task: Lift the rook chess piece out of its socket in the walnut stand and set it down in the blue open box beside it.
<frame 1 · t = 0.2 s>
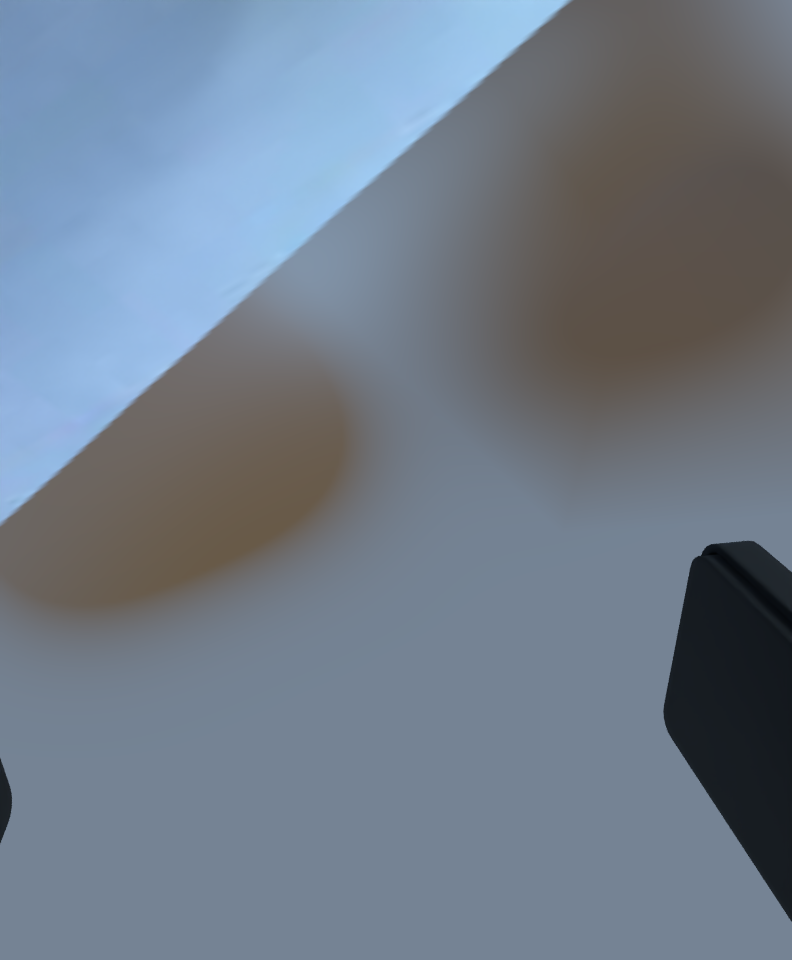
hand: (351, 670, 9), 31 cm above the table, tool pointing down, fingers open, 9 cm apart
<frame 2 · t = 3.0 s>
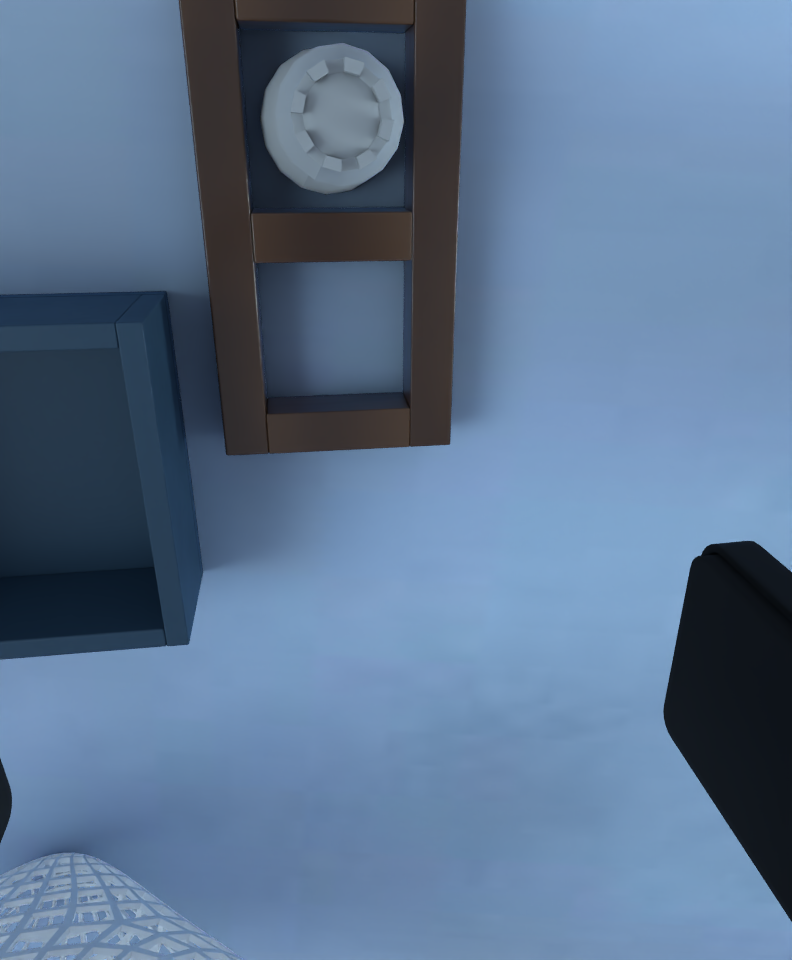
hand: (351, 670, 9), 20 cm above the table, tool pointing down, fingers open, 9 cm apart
blue open box: (28, 451, 28), on the table
stand: (330, 231, 26), on the table
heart: (64, 857, 38), on the table
rook chess piece: (326, 123, 25), resting in stand
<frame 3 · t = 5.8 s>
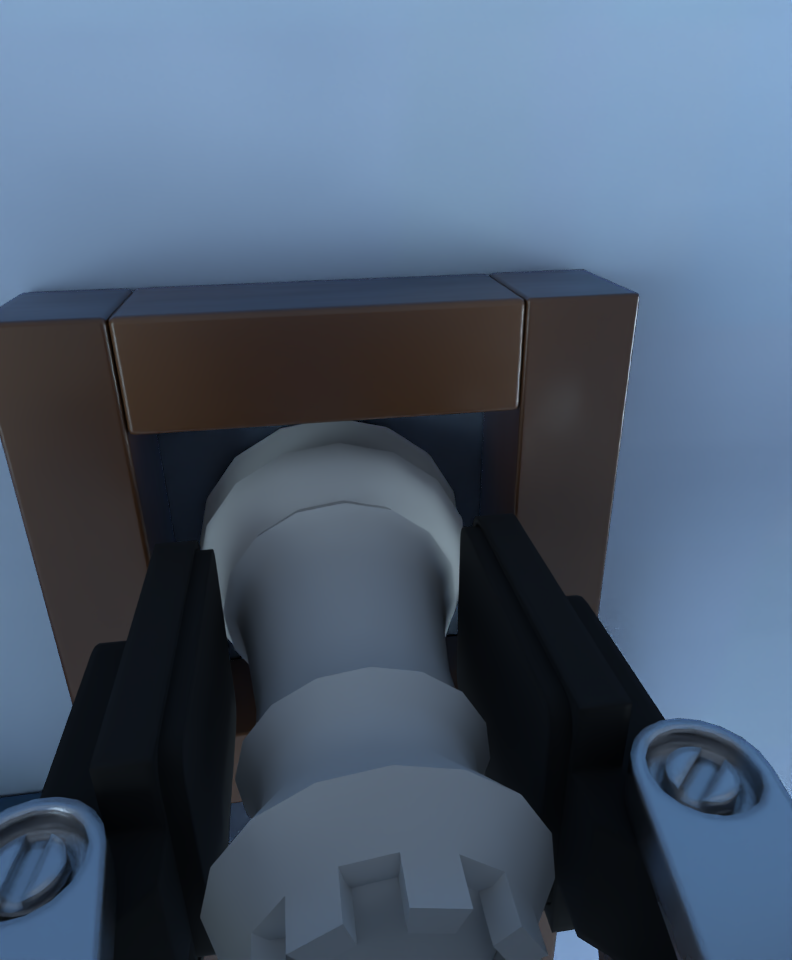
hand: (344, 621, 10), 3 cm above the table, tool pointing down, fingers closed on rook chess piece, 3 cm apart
stand: (340, 679, 14), on the table
rook chess piece: (330, 520, 13), resting in stand, touching gripper
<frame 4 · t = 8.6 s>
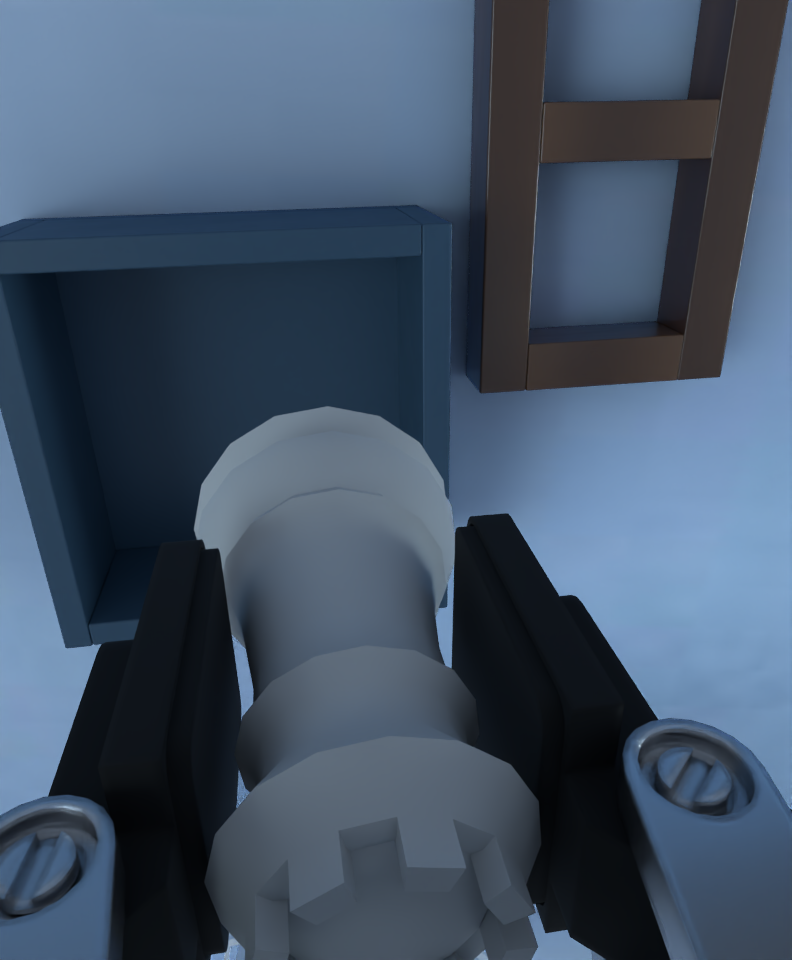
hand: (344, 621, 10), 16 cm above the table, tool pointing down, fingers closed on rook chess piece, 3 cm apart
blue open box: (247, 396, 25), on the table
stand: (603, 131, 23), on the table
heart: (239, 850, 35), on the table
rook chess piece: (322, 507, 13), point 12 cm above the table, touching gripper
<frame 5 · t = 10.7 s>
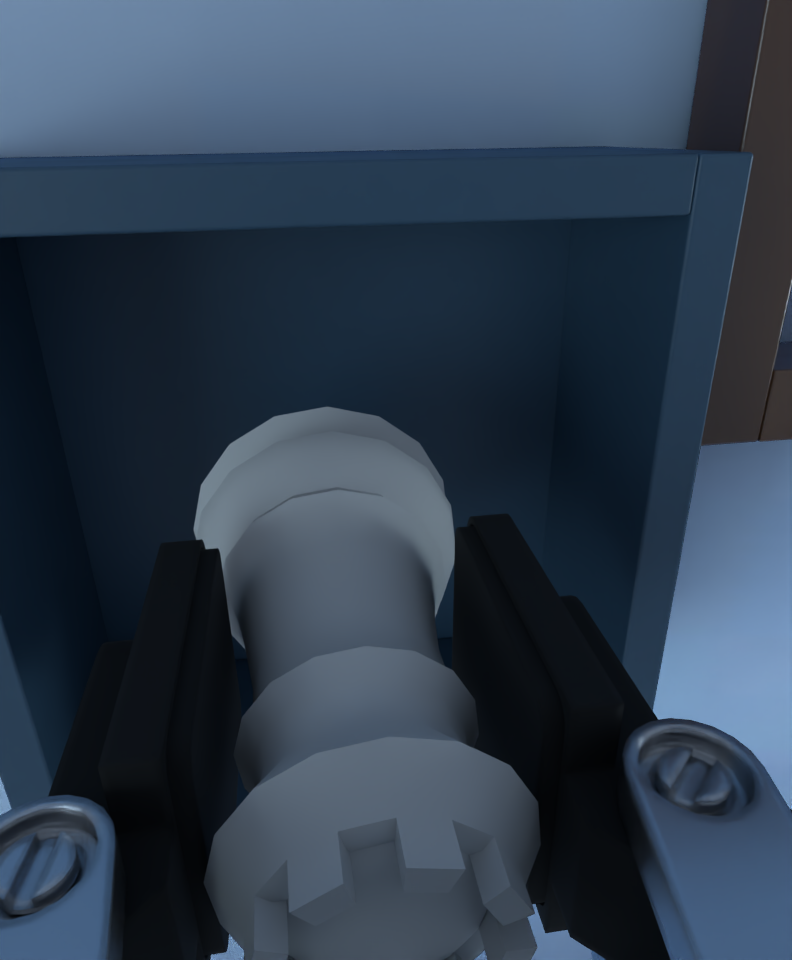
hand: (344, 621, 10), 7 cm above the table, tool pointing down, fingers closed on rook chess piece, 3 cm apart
blue open box: (320, 445, 16), on the table
rook chess piece: (321, 507, 13), point 3 cm above the table, touching gripper
when the fingers open (4 cm above the table, at t = 11.7 s): rook chess piece stays where it is, resting on blue open box.
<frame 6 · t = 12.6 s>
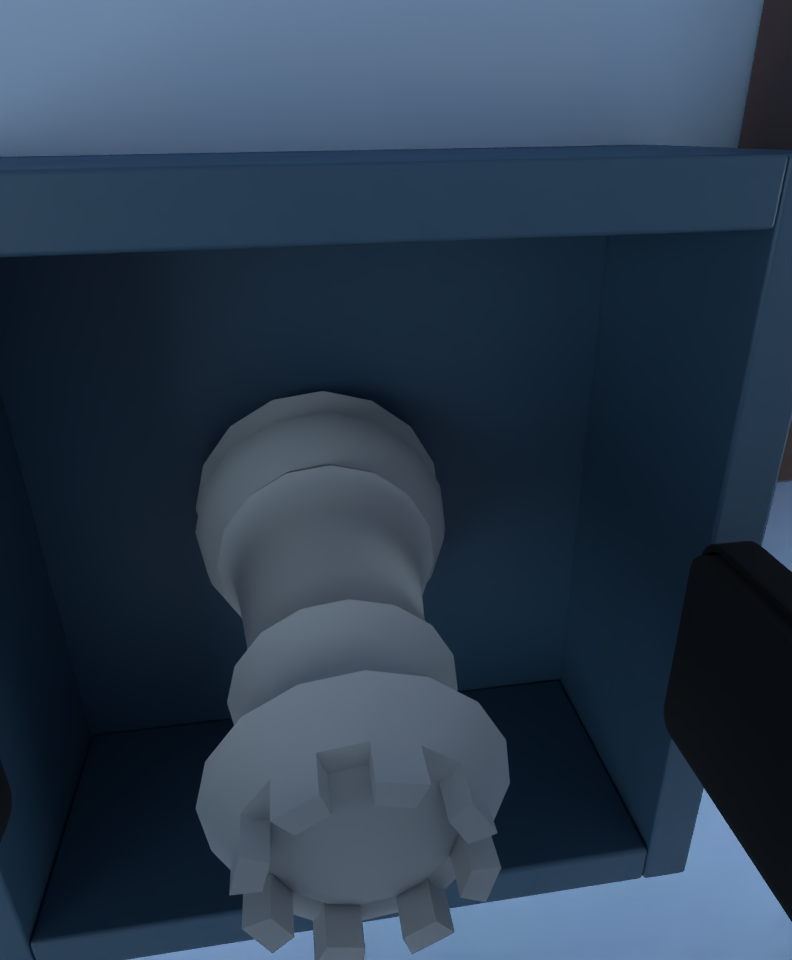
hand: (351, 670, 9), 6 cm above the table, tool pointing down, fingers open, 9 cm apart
blue open box: (319, 483, 14), on the table
rook chess piece: (318, 490, 14), resting on blue open box
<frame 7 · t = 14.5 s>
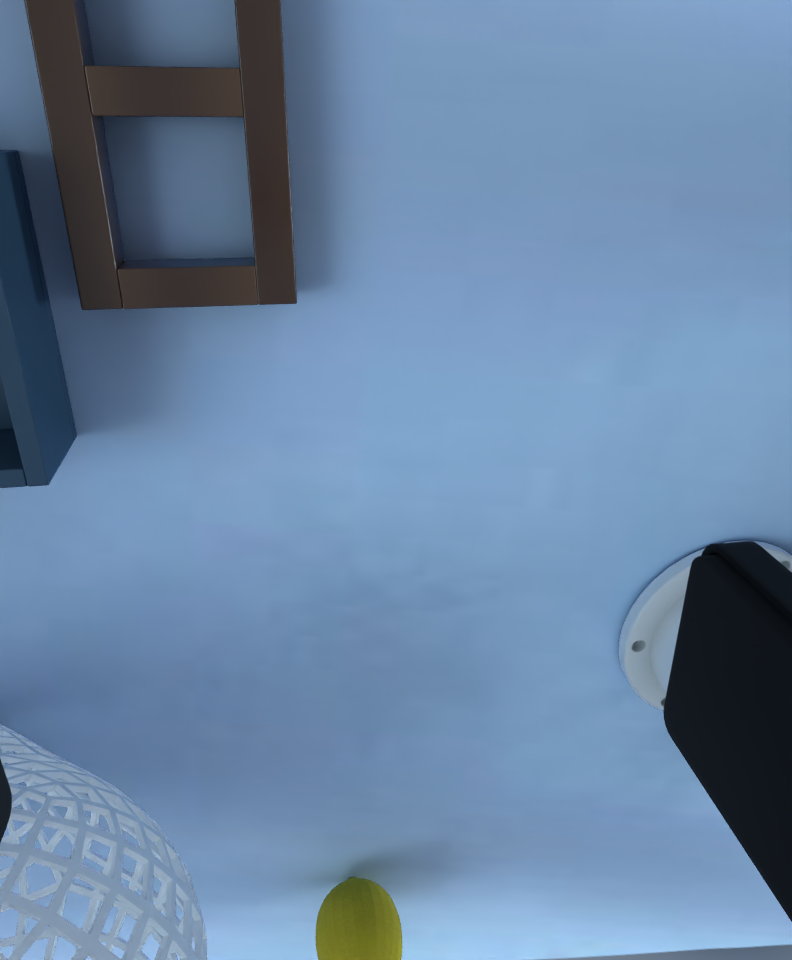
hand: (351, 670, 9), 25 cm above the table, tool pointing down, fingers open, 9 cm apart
stand: (171, 93, 28), on the table
lemon: (351, 875, 50), on the table
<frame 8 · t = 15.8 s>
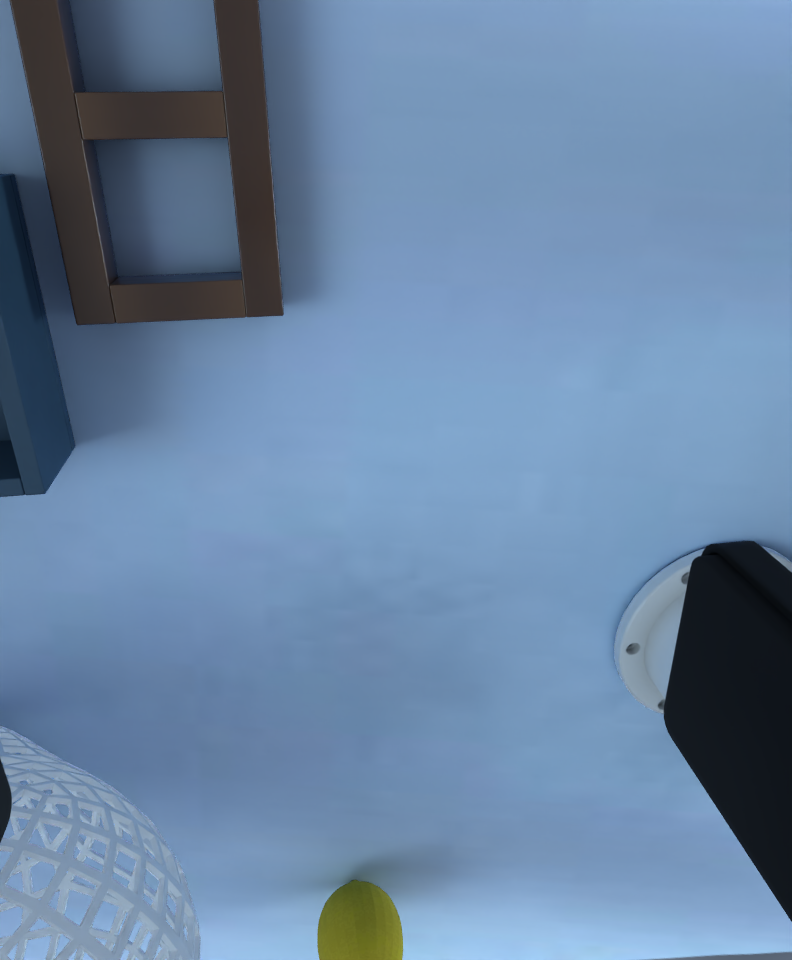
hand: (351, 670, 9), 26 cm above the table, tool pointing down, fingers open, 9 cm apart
stand: (160, 116, 29), on the table
lemon: (354, 879, 51), on the table
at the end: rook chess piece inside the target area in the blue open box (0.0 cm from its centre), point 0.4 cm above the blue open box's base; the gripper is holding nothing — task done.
